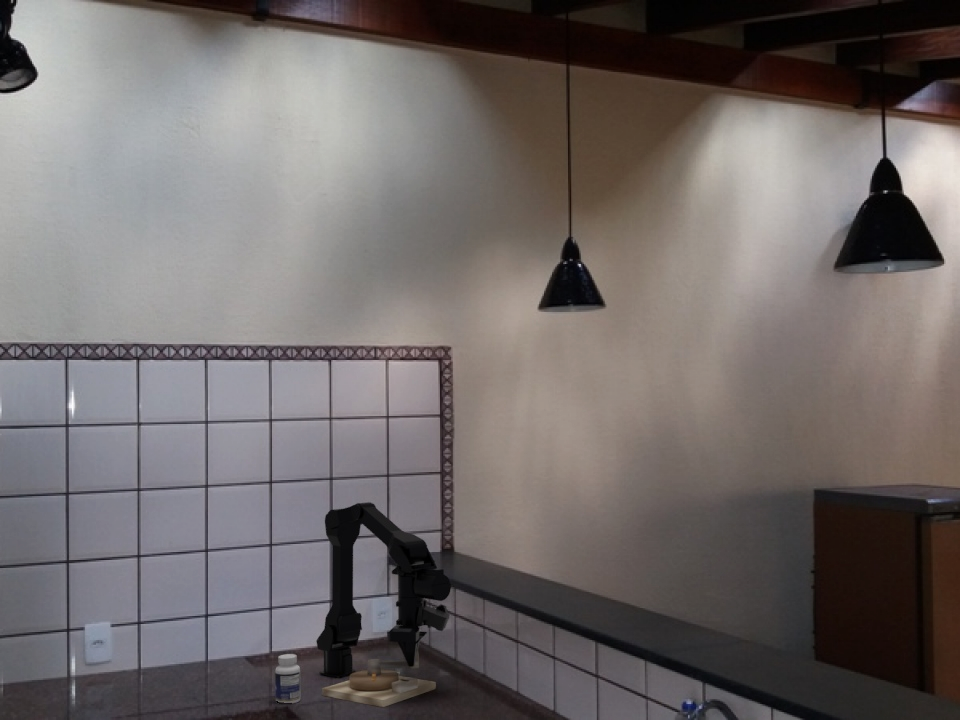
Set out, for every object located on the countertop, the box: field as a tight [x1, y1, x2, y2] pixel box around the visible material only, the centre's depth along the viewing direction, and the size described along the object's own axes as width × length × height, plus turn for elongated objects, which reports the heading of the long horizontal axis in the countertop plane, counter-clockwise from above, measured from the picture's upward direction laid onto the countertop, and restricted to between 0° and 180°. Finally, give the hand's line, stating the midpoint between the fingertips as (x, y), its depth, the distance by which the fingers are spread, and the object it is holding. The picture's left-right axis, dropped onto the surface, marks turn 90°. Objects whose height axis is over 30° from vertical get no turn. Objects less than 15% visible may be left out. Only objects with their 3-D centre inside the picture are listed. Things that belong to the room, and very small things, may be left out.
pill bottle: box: [274, 653, 301, 704], centre depth 232 cm, size 5×5×10 cm
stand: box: [321, 675, 437, 708], centre depth 238 cm, size 18×18×4 cm
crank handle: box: [349, 650, 420, 690], centre depth 238 cm, size 11×16×7 cm
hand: (411, 666), depth 237 cm, fingers closed
